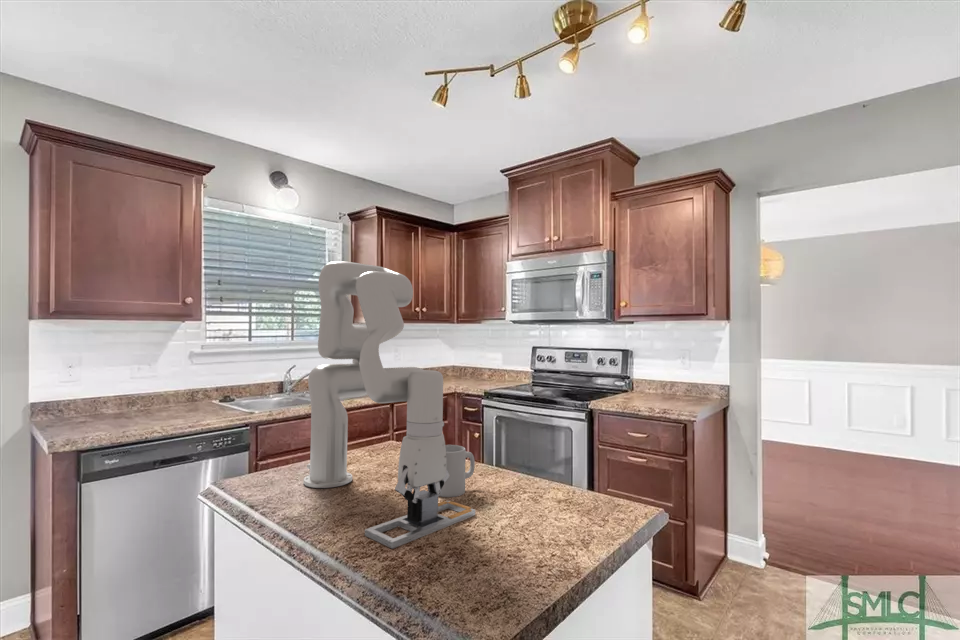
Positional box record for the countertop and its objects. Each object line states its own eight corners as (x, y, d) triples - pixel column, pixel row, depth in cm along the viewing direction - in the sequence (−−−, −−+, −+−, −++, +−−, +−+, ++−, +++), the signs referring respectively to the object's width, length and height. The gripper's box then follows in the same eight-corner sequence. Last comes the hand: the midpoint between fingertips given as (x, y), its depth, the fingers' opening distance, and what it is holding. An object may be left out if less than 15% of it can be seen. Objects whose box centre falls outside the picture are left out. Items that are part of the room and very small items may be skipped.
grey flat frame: (364, 535, 93) (364, 528, 93) (447, 505, 110) (447, 499, 111) (392, 548, 88) (392, 541, 88) (475, 515, 105) (475, 508, 105)
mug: (442, 499, 115) (443, 453, 115) (425, 490, 122) (426, 447, 122) (482, 491, 122) (483, 447, 122) (464, 482, 129) (465, 441, 129)
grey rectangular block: (407, 523, 99) (408, 494, 99) (423, 518, 102) (424, 490, 102) (421, 529, 96) (422, 499, 96) (437, 523, 99) (438, 494, 100)
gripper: (441, 421, 109) (439, 502, 108) (380, 432, 96) (378, 523, 95) (464, 426, 104) (463, 511, 103) (404, 437, 91) (402, 534, 90)
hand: (422, 516), depth 99 cm, fingers closed on grey rectangular block, 4 cm apart
